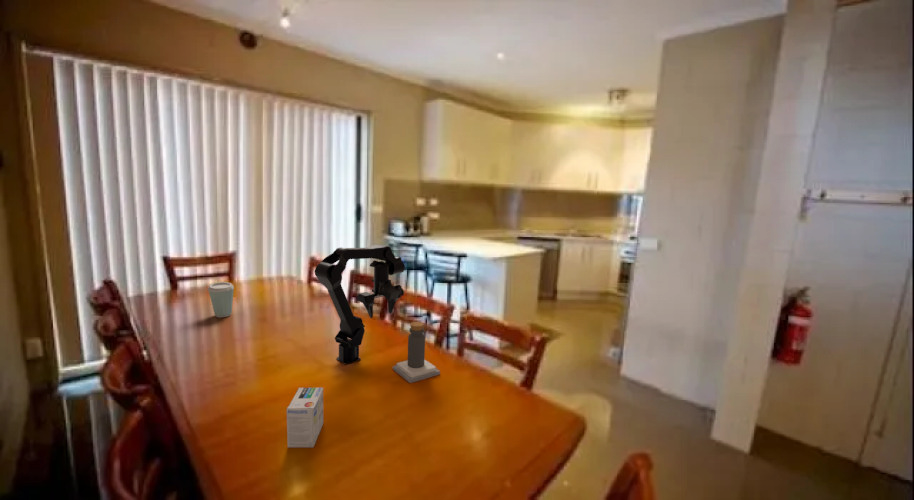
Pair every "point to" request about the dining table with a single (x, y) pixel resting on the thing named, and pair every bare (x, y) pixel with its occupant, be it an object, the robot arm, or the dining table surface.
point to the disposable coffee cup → (221, 298)
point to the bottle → (416, 345)
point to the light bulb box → (305, 417)
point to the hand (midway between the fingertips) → (380, 315)
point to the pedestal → (415, 371)
